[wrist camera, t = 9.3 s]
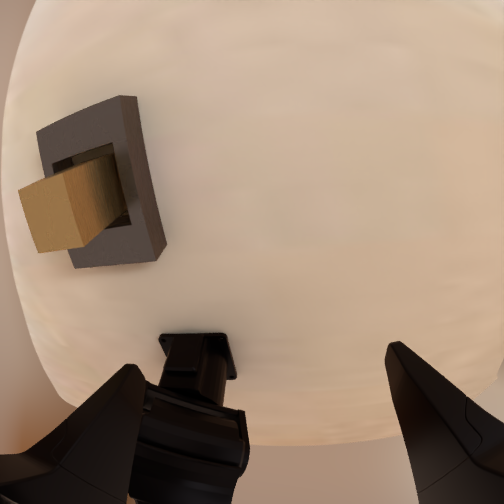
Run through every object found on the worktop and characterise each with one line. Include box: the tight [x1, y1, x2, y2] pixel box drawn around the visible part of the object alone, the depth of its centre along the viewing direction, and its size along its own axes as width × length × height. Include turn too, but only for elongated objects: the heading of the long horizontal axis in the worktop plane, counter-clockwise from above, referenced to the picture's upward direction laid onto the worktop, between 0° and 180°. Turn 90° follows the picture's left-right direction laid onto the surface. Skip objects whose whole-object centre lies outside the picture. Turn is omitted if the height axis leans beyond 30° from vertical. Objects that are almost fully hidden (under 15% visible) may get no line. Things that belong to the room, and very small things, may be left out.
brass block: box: [18, 153, 128, 253], centre depth 15 cm, size 4×4×7 cm
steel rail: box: [36, 95, 167, 269], centre depth 17 cm, size 11×8×2 cm
